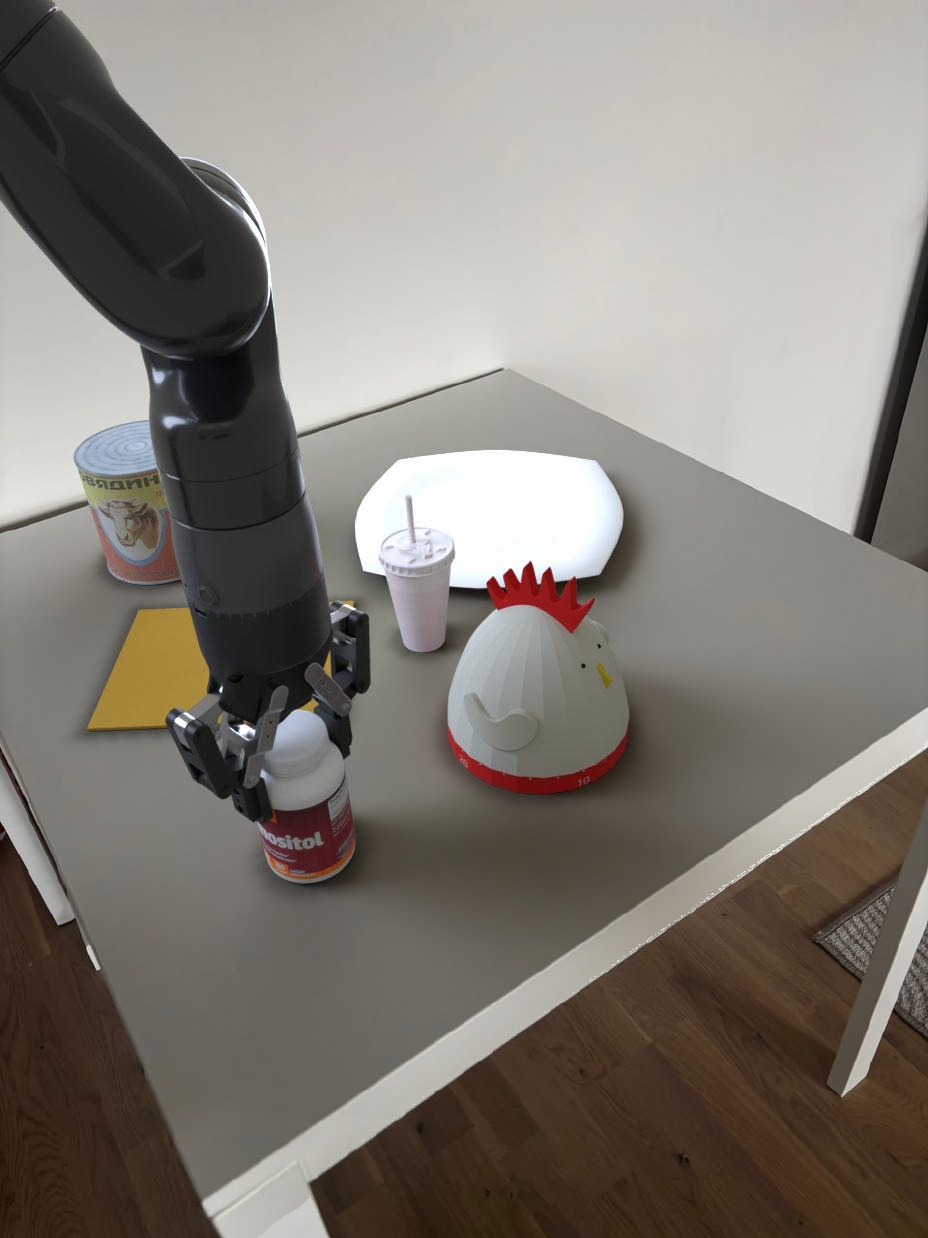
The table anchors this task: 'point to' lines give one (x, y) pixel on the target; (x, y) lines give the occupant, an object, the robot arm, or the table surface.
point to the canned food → (128, 503)
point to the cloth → (158, 673)
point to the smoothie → (418, 581)
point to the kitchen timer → (537, 691)
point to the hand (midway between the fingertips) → (297, 783)
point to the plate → (499, 513)
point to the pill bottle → (306, 802)
